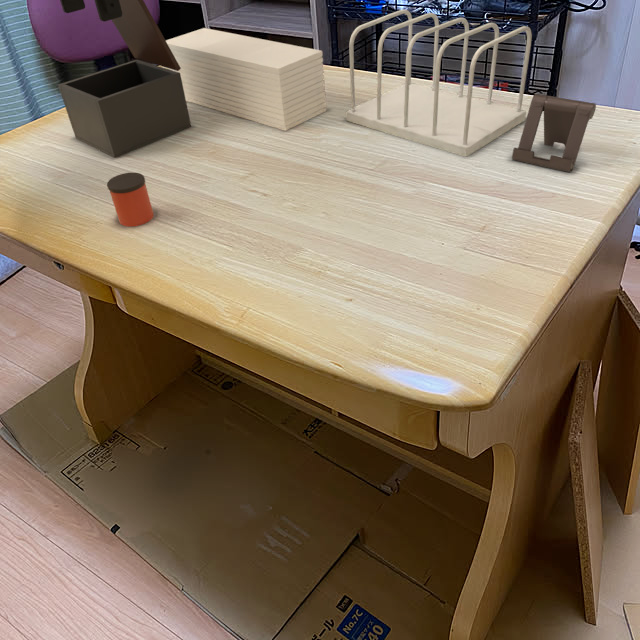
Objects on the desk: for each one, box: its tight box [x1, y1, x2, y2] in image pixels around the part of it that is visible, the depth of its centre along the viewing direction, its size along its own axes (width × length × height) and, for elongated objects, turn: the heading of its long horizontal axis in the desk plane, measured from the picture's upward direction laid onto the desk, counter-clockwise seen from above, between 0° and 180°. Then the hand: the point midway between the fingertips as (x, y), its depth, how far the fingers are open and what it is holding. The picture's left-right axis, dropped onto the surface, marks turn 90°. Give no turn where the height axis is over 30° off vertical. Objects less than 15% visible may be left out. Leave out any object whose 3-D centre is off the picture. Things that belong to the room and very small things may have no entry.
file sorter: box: [345, 9, 533, 157], centre depth 102 cm, size 25×17×16 cm
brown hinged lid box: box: [57, 59, 192, 159], centre depth 109 cm, size 16×14×10 cm
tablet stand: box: [511, 93, 597, 173], centre depth 91 cm, size 9×8×8 cm
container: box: [106, 172, 154, 228], centre depth 86 cm, size 5×5×6 cm
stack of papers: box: [165, 27, 327, 132], centre depth 116 cm, size 32×11×11 cm, turn 48°
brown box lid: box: [111, 0, 181, 71], centre depth 104 cm, size 17×14×5 cm
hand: (92, 14), depth 86 cm, fingers open, 9 cm apart
